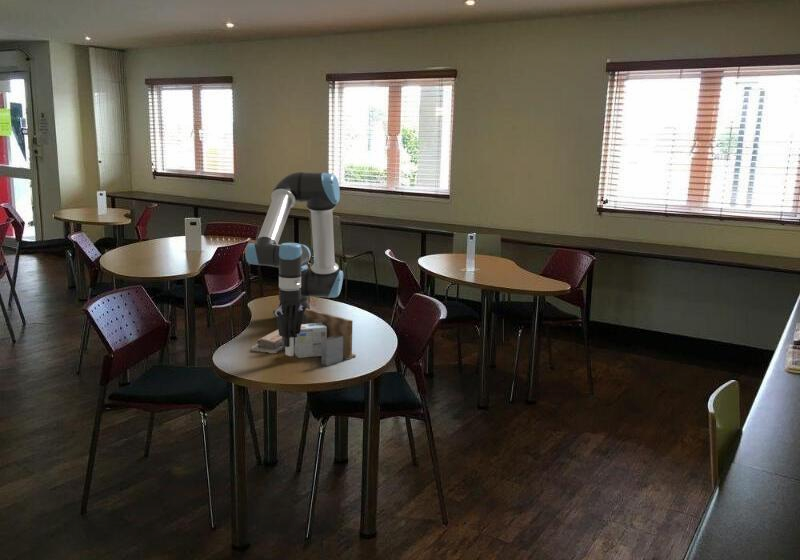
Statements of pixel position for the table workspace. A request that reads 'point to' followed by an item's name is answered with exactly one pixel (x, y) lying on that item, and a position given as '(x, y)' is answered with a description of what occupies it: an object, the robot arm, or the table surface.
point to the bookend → (332, 350)
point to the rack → (331, 328)
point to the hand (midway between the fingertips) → (289, 355)
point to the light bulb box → (310, 340)
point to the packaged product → (269, 343)
